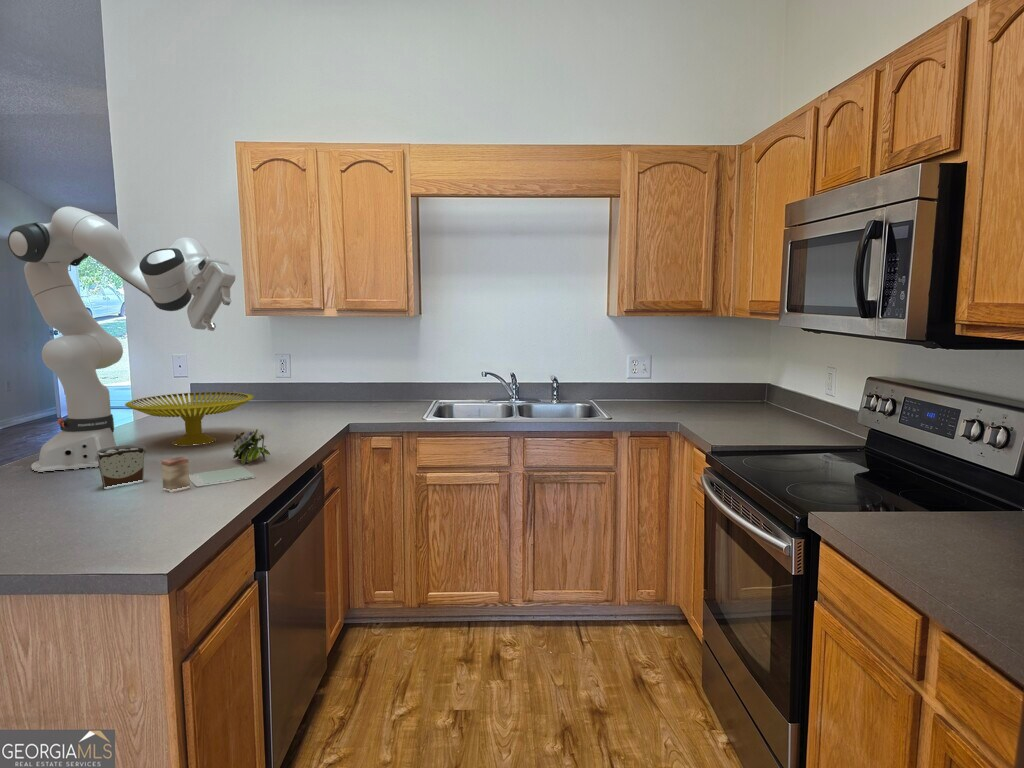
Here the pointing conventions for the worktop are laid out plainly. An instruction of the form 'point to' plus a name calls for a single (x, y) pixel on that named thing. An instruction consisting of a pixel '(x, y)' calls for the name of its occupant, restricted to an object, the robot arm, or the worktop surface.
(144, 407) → the cake stand
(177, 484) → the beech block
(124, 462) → the food container
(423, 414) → the worktop surface
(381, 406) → the worktop surface
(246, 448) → the passion flower
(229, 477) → the sage mat
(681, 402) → the worktop surface
